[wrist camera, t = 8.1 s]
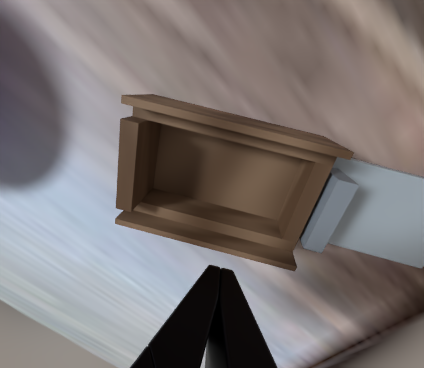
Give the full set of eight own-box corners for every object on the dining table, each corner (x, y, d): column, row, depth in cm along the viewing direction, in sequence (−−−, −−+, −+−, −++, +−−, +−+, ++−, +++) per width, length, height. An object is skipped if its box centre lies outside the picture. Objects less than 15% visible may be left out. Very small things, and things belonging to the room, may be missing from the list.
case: (323, 136, 15) (354, 152, 11) (283, 231, 18) (294, 271, 14) (153, 94, 15) (121, 94, 11) (142, 195, 18) (115, 223, 14)
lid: (465, 186, 15) (534, 216, 12) (410, 257, 18) (453, 299, 14) (319, 148, 16) (342, 165, 12) (285, 224, 18) (296, 256, 15)
